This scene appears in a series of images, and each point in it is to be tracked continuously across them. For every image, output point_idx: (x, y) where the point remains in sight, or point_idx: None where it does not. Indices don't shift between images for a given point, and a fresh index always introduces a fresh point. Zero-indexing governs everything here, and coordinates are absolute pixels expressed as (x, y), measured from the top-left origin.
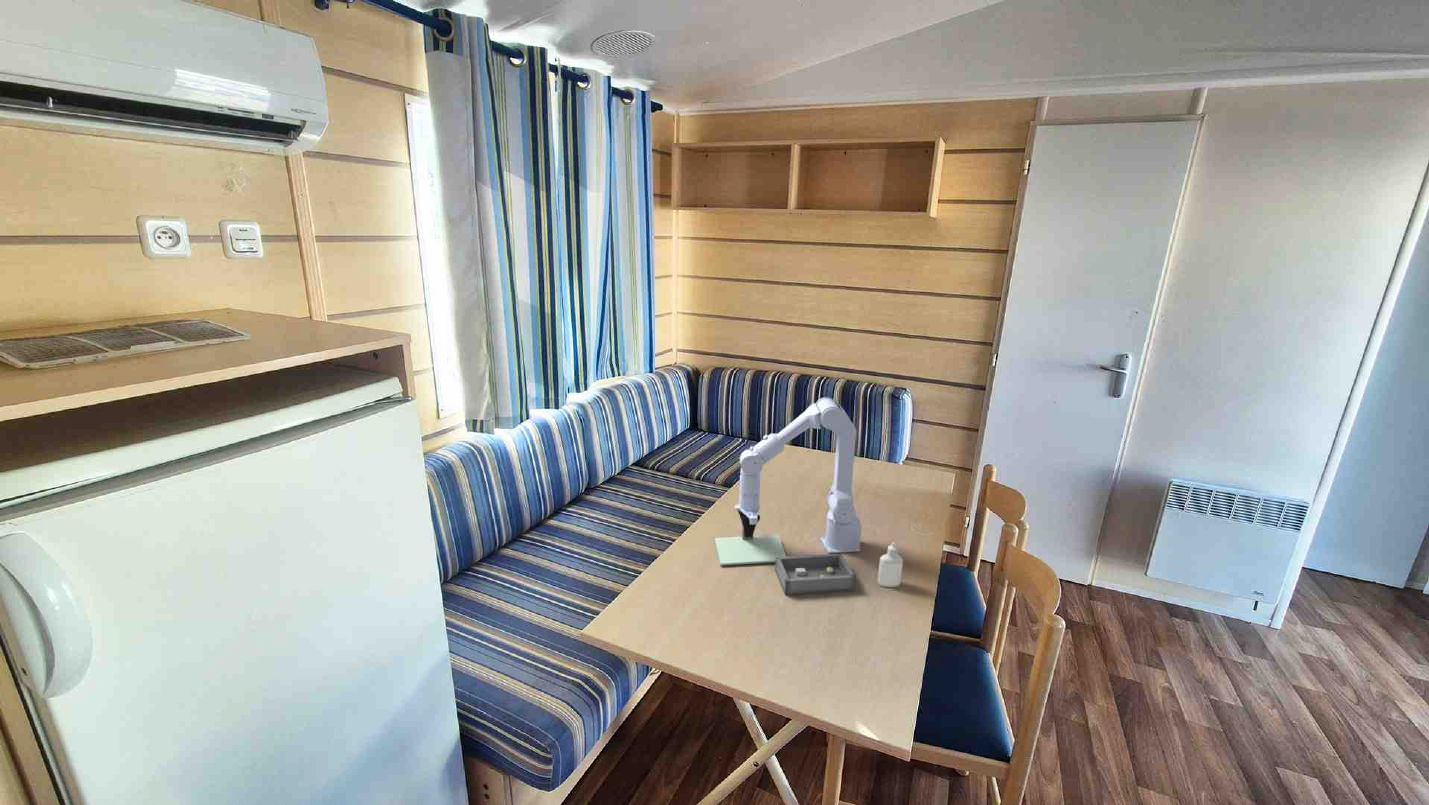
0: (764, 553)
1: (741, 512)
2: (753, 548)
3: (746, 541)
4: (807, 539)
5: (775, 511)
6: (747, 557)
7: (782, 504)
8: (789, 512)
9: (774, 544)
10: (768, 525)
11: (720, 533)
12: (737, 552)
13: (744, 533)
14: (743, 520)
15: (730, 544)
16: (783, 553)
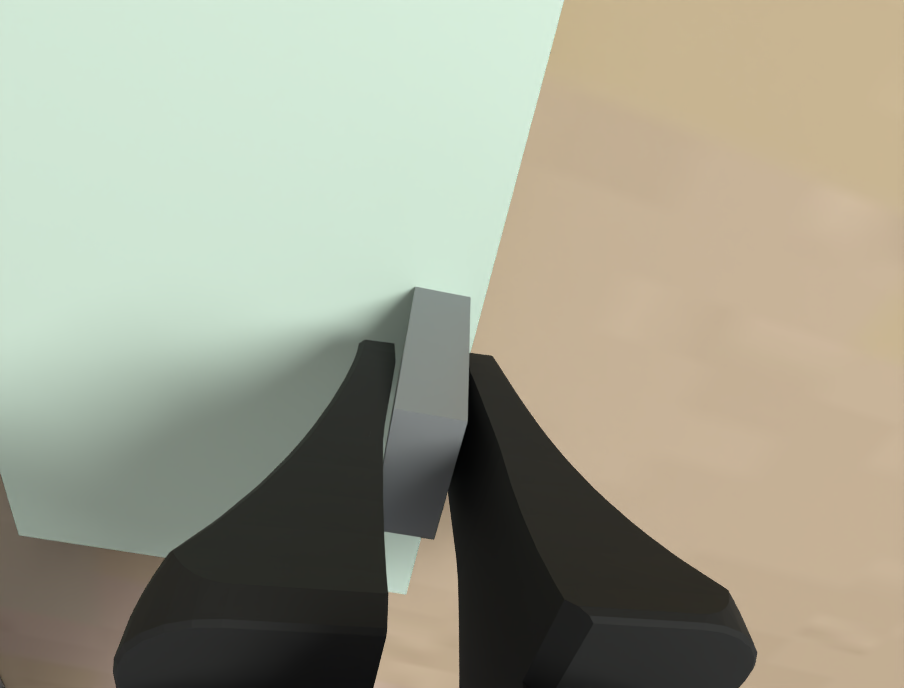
0: (107, 407)
1: (554, 649)
2: (208, 339)
3: (366, 316)
4: (378, 671)
5: (828, 624)
6: (14, 207)
7: (877, 671)
8: (755, 676)
9: None
10: (674, 544)
11: (817, 73)
12: (131, 113)
13: (355, 365)
14: (146, 595)
15: (344, 79)
16: (113, 539)
